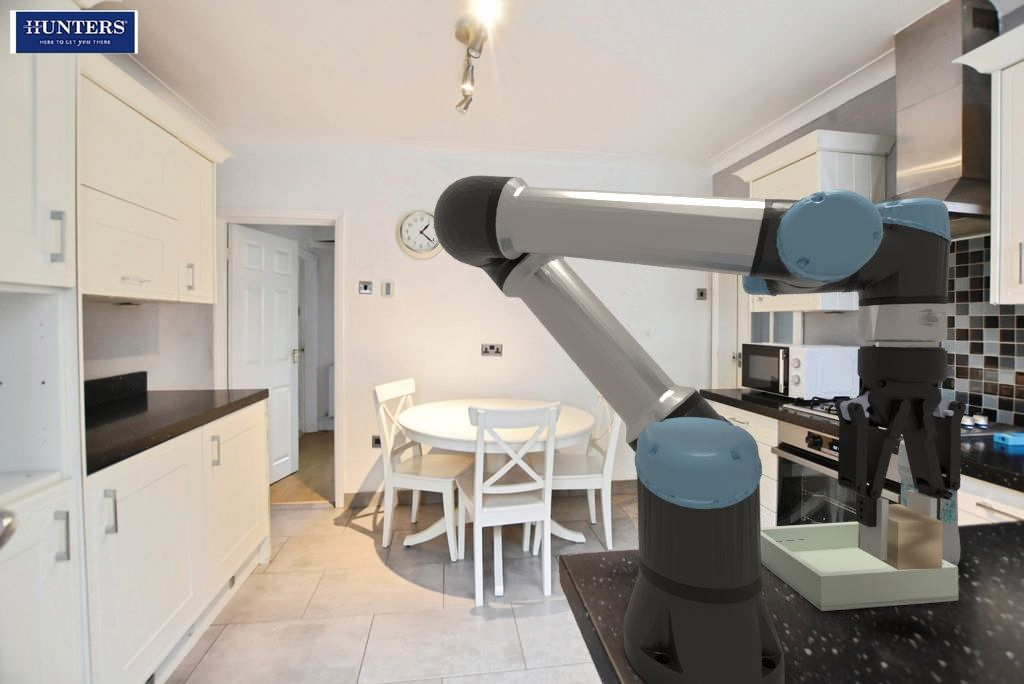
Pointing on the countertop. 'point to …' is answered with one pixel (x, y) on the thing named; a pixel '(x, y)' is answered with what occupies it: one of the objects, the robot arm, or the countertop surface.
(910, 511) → the cube
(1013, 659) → the countertop surface
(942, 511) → the bottle
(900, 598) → the tote
